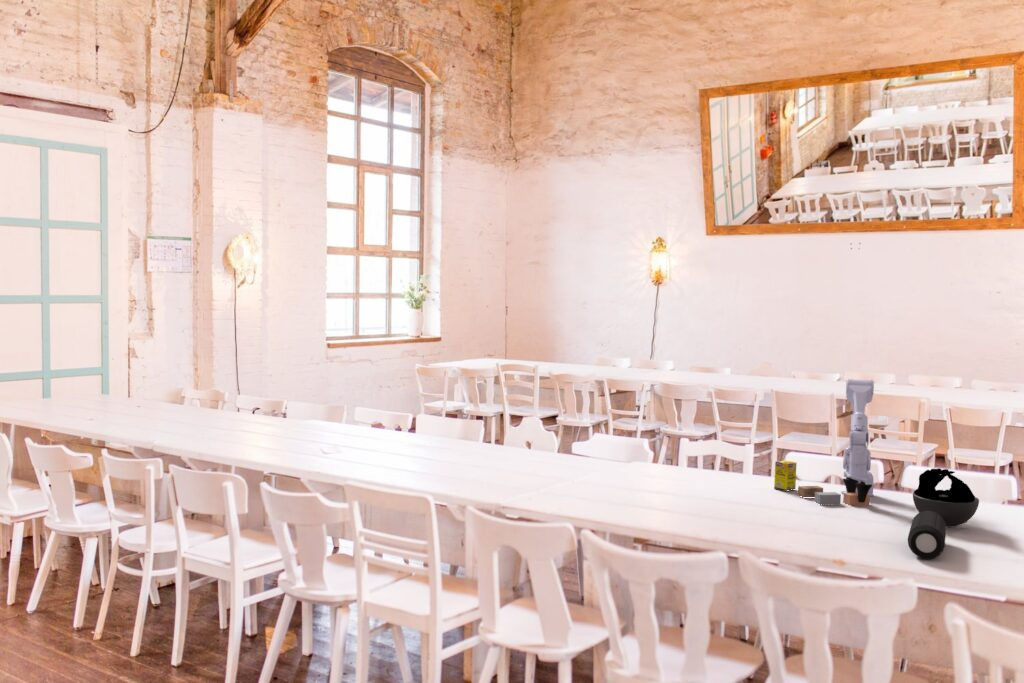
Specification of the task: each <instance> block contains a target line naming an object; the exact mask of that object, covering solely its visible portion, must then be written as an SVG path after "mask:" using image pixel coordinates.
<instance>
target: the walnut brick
mask: <svg viewBox="0 0 1024 683" xmlns="http://www.w3.org/2000/svg"><path fill="white" fill-rule="evenodd" d="M797 487H798V488H797V496H798V495H799V496H802V497H815V492H824V487H821V486H819V485H801V486H800V485H799V486H797Z"/></svg>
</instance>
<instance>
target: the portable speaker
mask: <svg viewBox="0 0 1024 683" xmlns="http://www.w3.org/2000/svg"><path fill="white" fill-rule="evenodd" d="M946 534H947V527H946V523H945V521H944V519H943V518H942V517H941V516H940V515H939V514H937V513H935V512H933V511H923V512H920V513H919V512H918V513H917V514H916V515H915V516H914V517H913V519H912V521H911V524H910V527H909V531H908V536H907V543H908V544H907V545H908V547H909V549H910V551H911V552H912V553H913V554H914V555H915V556H916V557H918V558H921V559H923V560H924V559H925V560H932V559H933V560H934V559H935V558H938V557H939V556H941V554H942V553H943V552H944V550H945V547H946V537H947V536H946Z"/></svg>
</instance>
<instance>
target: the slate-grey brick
mask: <svg viewBox="0 0 1024 683" xmlns="http://www.w3.org/2000/svg"><path fill="white" fill-rule="evenodd" d="M841 498H842V497H841V494H840V493H839V492H836V491H828V492H827V491H826V492H825V491H823V492H815V498H814V502H816V503H818V504H820V505H819V506H828V505H827V504H830V505H829V506H839V505H838V504H840V505H841V502H842V501H841ZM816 503H815V504H816ZM818 504H817V505H818ZM821 504H822V505H821ZM823 504H824V505H823ZM825 504H826V505H825ZM831 504H833V505H831ZM834 504H836V505H834Z"/></svg>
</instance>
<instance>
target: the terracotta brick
mask: <svg viewBox="0 0 1024 683" xmlns="http://www.w3.org/2000/svg"><path fill="white" fill-rule="evenodd" d="M870 498H871V496H870V495H869V494H867V496H866V500H865V502H859V501H858V492H857V493H843V502H842V504H844V503H845V505H846V504H848V505H847V506H849V505H857V506H870Z"/></svg>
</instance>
